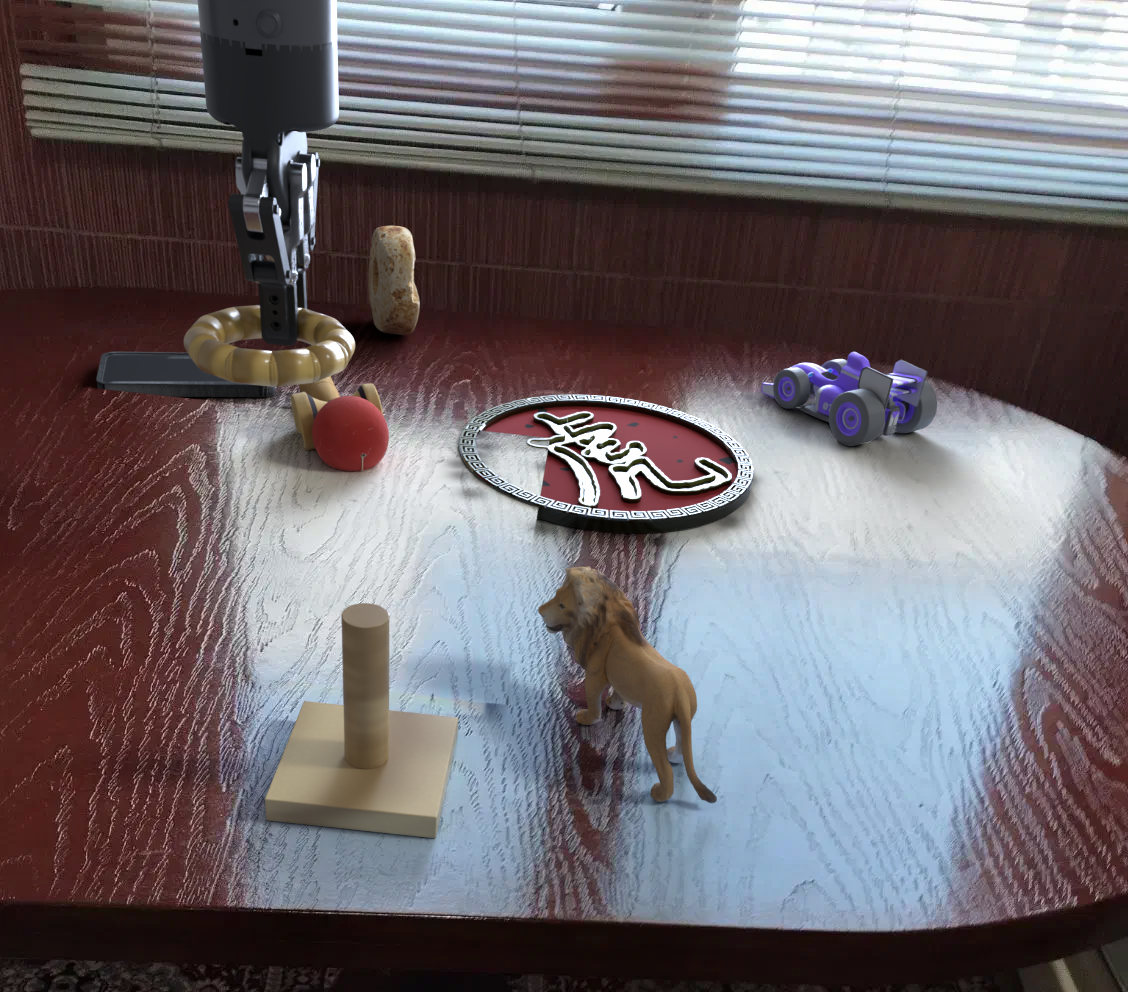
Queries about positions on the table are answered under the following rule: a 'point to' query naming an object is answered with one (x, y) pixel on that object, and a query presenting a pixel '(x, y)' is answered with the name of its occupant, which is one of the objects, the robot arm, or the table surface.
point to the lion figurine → (626, 670)
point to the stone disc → (393, 281)
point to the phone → (168, 376)
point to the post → (364, 748)
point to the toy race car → (858, 397)
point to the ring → (268, 367)
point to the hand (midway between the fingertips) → (285, 334)
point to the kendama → (341, 424)
